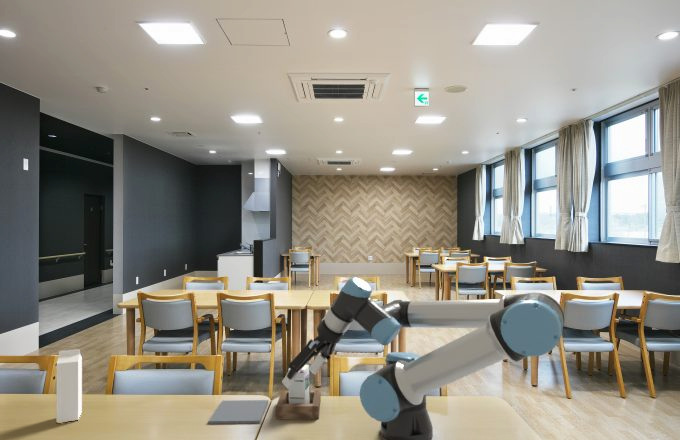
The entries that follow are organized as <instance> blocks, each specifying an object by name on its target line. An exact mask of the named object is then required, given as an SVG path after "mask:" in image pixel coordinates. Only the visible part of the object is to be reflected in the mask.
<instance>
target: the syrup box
mask: <svg viewBox="0 0 680 440" xmlns="http://www.w3.org/2000/svg"><path fill="white" fill-rule="evenodd" d="M309 368H310V365H309V364H308V363H306V364H305V365H304V366H303V367H302V368H301V369H300V370H299V371H300V373H299V374H298V376H297V377H296V379H295V380H294V382H293V383H292V385H291V386H290V388H289V389H288V390H289V404H310V387H311V384H310V370H309ZM289 370H290V368H289V367H288V370H287V371H289Z"/></svg>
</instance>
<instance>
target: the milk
mask: <svg viewBox="0 0 680 440" xmlns="http://www.w3.org/2000/svg"><path fill="white" fill-rule="evenodd" d="M55 406H56V412H55V413H56V419H55V421H56V422H63V421H71V420H78V419H79V420H80V418H81V416H82V414H81V413H83V357H82V354H81V349H80V348H79V349H68V350H59V351H58V357H57V360H56V405H55ZM80 415H81V416H80ZM79 417H80V418H79ZM79 420H78V421H79Z"/></svg>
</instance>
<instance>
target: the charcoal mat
mask: <svg viewBox="0 0 680 440" xmlns="http://www.w3.org/2000/svg"><path fill="white" fill-rule="evenodd" d="M268 404H269V400H268V399H263V400H262V399H261V400H257V399H256V400H255V399H254V400H253V399H252V400H247V399H246V400H245V399H244V400H238V399H237V400H222V401H221V402H220V404H219V405H218V407H217V408H216V410H215V411H214V413H213V414H212V415H211V417H210V418H209V420H208V424H209V425H213V424H214V425H219V424H220V425H223V424H227V425H228V424H229V425H231V424H232V425H233V424H234V425H235V424H237V425H238V424H261V422H262V420H263V418H264V417H263V416H264V415H265V412H266V409H267V406H268Z"/></svg>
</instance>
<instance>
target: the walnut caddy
mask: <svg viewBox="0 0 680 440" xmlns="http://www.w3.org/2000/svg"><path fill="white" fill-rule="evenodd" d="M321 394H322V393H321V389H311V390H310V404H289V389H288V390H287V389H285V390H283V389H282V390H281V392H280V394H279V397H278V400H277V403H276V406H275V419H276V420H318V419H319V418H320V410H321V403H322V402H321V397H322V395H321Z"/></svg>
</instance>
